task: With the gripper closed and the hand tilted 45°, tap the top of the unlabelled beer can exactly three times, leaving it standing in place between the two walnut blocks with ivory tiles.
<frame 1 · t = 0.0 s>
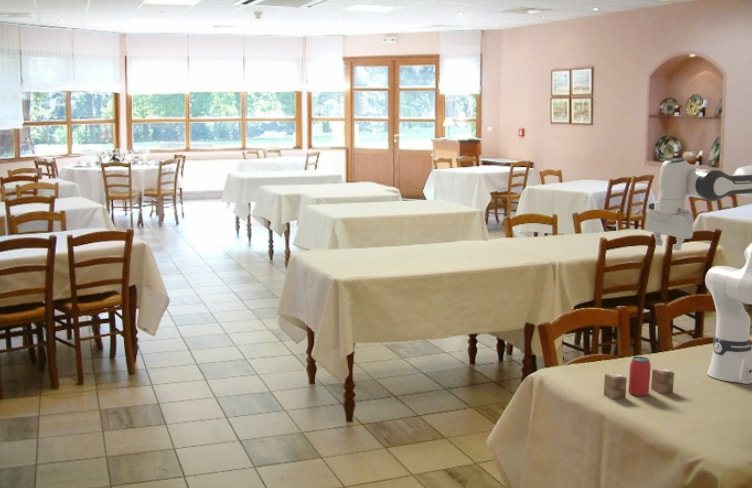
hand: (667, 247, 300), 48 cm above the table, tool pointing down, fingers open, 8 cm apart
walnut block 2: (661, 390, 301), on the table
beer can: (638, 393, 298), on the table
walnut block 1: (614, 396, 295), on the table
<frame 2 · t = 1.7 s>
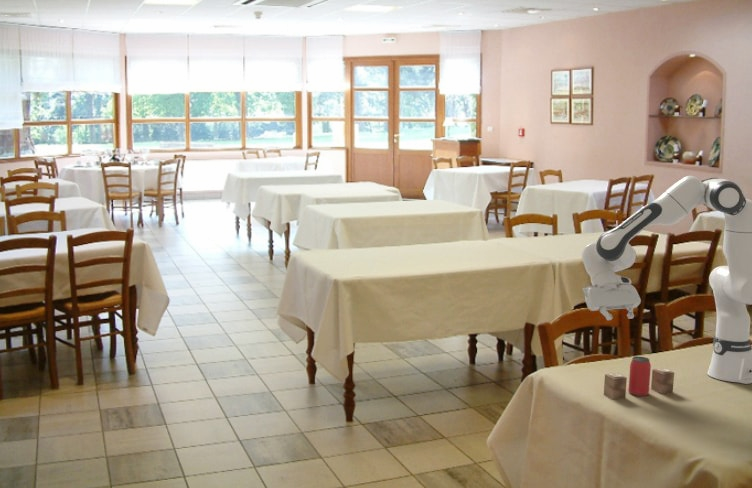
hand: (620, 318, 306), 23 cm above the table, tool tilted 45°, fingers open, 7 cm apart
nothing on the table moved.
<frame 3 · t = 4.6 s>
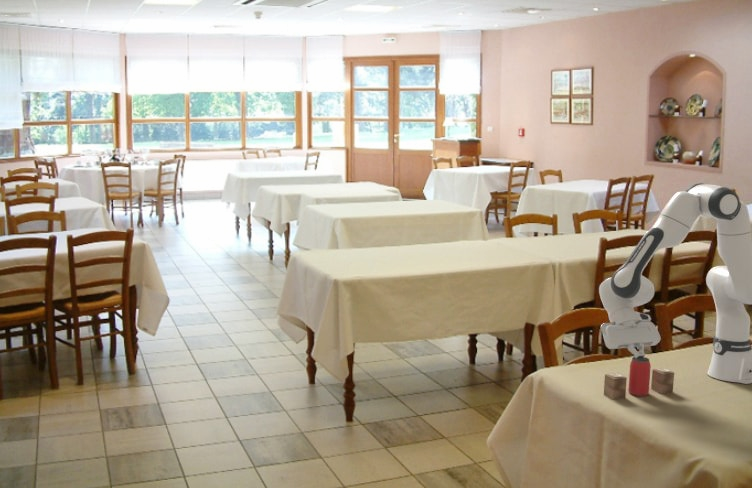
hand: (640, 357, 296), 13 cm above the table, tool tilted 45°, fingers closed, pressing on beer can
beer can: (638, 393, 298), on the table, touching gripper
everything else where it was.
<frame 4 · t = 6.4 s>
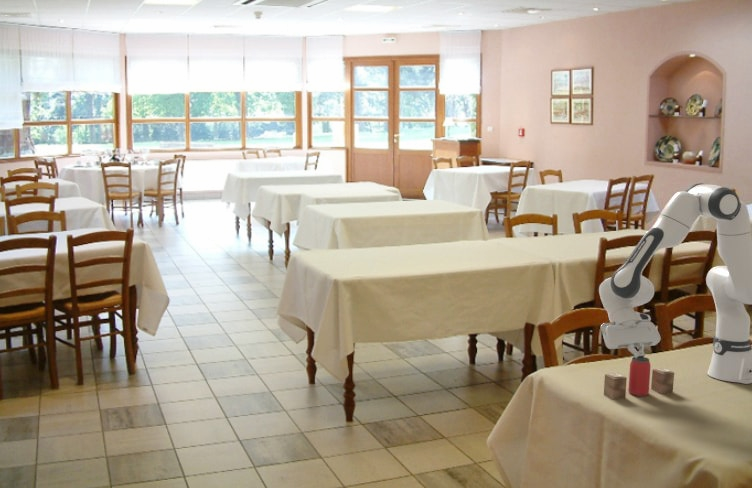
hand: (640, 357, 296), 13 cm above the table, tool tilted 45°, fingers closed, pressing on beer can
beer can: (638, 393, 298), on the table, touching gripper
everything else where it was.
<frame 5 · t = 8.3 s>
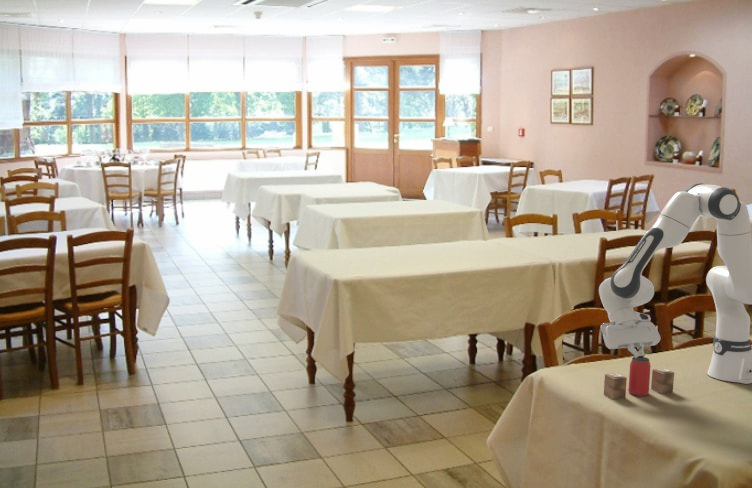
hand: (640, 357, 296), 13 cm above the table, tool tilted 45°, fingers closed, pressing on beer can
beer can: (638, 393, 298), on the table, touching gripper
everything else where it was.
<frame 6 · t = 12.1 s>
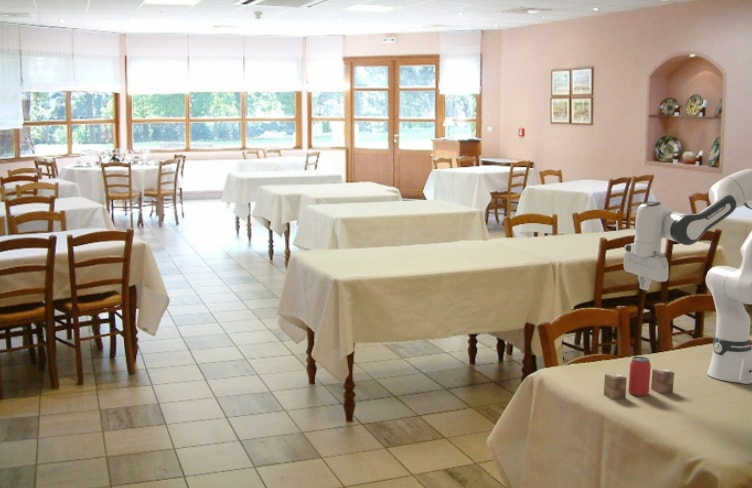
hand: (644, 289, 304), 33 cm above the table, tool pointing down, fingers closed
beer can: (638, 393, 298), on the table
everything else where it was.
at the end: beer can moved 0.2 cm from its start; beer can tilted 0°; the gripper is holding nothing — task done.
